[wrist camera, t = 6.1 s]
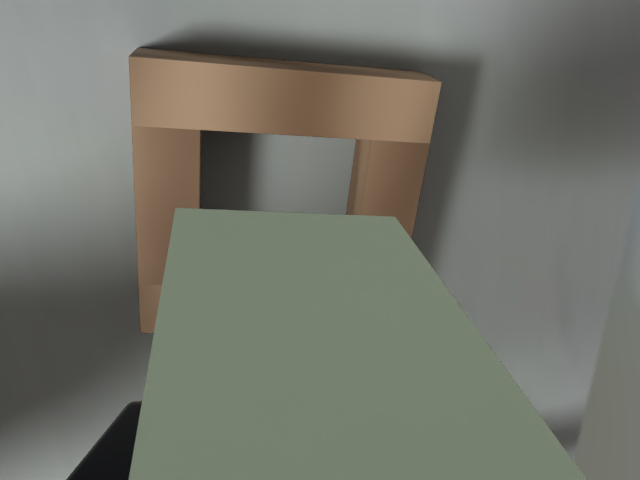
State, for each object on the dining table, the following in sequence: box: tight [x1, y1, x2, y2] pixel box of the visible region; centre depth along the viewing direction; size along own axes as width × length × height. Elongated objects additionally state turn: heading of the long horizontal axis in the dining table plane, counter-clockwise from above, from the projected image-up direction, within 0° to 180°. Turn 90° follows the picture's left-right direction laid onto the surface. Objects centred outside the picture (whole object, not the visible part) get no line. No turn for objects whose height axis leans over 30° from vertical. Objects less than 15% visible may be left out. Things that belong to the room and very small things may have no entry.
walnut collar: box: [129, 48, 442, 333], centre depth 19 cm, size 10×10×2 cm
